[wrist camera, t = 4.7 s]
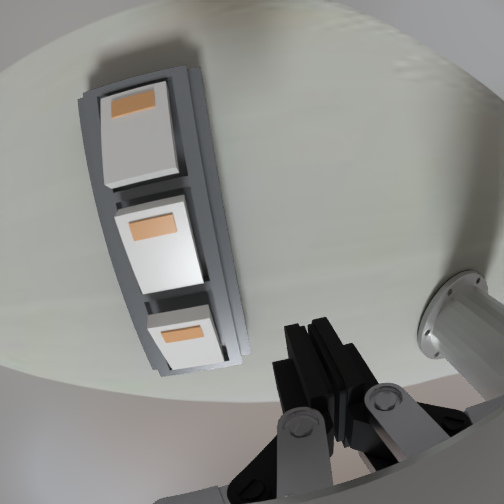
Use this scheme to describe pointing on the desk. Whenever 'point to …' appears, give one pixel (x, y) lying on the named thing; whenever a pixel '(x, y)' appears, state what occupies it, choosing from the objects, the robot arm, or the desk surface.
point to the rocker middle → (160, 244)
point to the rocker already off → (186, 337)
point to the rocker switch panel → (199, 209)
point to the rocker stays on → (137, 136)
